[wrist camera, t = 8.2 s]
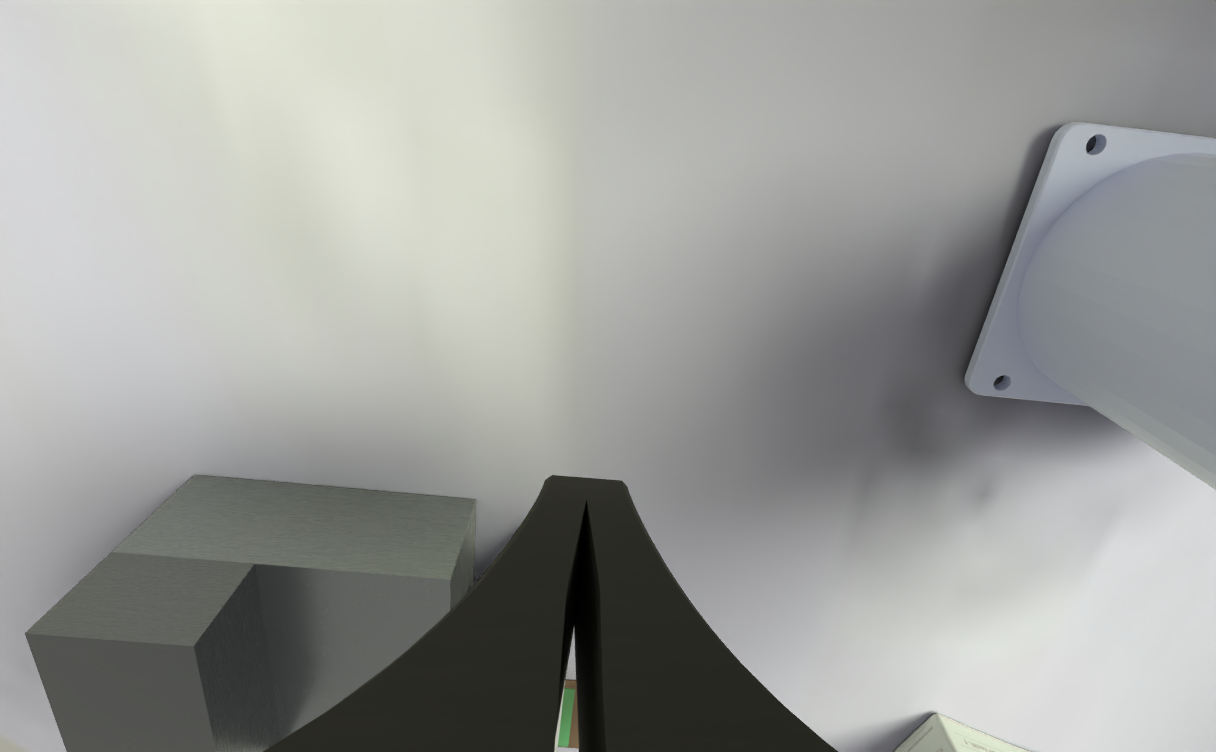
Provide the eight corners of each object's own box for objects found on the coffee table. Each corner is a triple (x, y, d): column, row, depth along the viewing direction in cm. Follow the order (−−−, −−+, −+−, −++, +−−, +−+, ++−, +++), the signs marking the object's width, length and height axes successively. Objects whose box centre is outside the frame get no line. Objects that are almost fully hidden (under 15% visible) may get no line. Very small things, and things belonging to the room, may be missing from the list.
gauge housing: (476, 499, 22) (423, 663, 16) (471, 665, 26) (426, 857, 19) (194, 474, 22) (25, 633, 16) (225, 646, 25) (96, 836, 19)
